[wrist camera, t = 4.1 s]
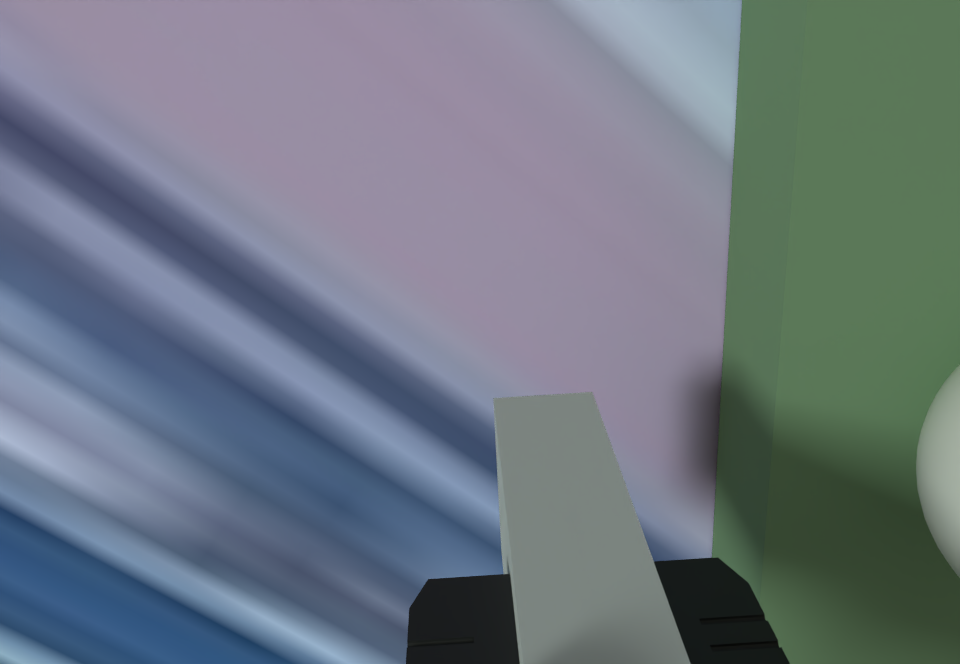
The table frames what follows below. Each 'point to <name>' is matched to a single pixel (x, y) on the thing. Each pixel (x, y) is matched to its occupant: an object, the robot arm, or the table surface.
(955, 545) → the ball
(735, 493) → the putting mat
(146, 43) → the table surface
